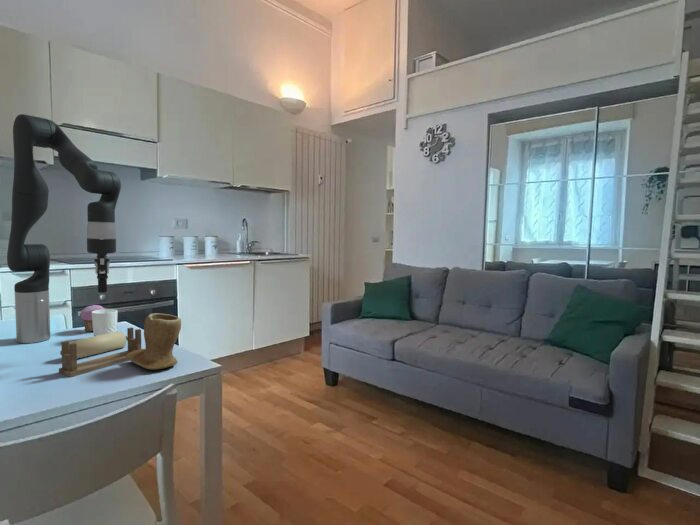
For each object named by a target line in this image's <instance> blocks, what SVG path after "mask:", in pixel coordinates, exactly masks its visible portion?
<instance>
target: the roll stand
mask: <svg viewBox="0 0 700 525" xmlns="http://www.w3.org/2000/svg"><path fill="white" fill-rule="evenodd" d="M126 330H127V331H126V333H127V335H126V336H127V337H128V340H127V350H124V351H121V352H120V351H119V352H116V353H114V354H109V355H105V356H102V357H99V358H94V359H89V360H87V361H82V362H79V363H78V359H77V348H76V344H75V343H72V344H69V342H70V341H67V340H63V341H61V344H60V346H61V347H60V348H61V350H62V356H61V367H60V368H59V367H58V373H59V374H61V375H64V376H68V377H69V378H72V377H76V376H79V375H84V374H87V373H91V372H93V371H97V370H101V369H104V368H107V367H112V366H115V365H118V364H122V363H125V362H129V361H130V360H128V359H127V358H126V355H127V354H128V353H130V352H132V351H135V350H139V349H142V329H140V328H139V329H134V327H127V329H126Z"/></svg>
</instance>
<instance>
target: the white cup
mask: <svg viewBox="0 0 700 525" xmlns="http://www.w3.org/2000/svg"><path fill="white" fill-rule="evenodd" d="M118 313H119V312H118V309H115V308H105V309H102V310H96V311H92V324H93V332H92V333H93V337H94V336H99V335H104V334H108V333H113V332H118V331H117V329H118V315H119V314H118Z"/></svg>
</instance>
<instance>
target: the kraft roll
mask: <svg viewBox="0 0 700 525" xmlns="http://www.w3.org/2000/svg"><path fill="white" fill-rule="evenodd" d="M68 342H69V344H72V343H75V344H76V348H77V360H79V358H80V359H82V358H83V357H84V358H87V356H88V357H92V356H94V355H98V354H103V353H106V352H110V351H115V350H119V349H123V348H125V347H126V345H127V342H128V336H127V335H126V334H125V333H124V332H123V331H122V330H120V331H119V330H118V331H116V332H113V333H108V334H104V335H99V336H94V335H93V336H91V337H86V338H81V339H77V340H76V339H75V340H70V341H68ZM59 352H60V353H59V354H60V356H61V357H62V349H61V350H60V351H59Z"/></svg>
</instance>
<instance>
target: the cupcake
mask: <svg viewBox="0 0 700 525" xmlns="http://www.w3.org/2000/svg"><path fill="white" fill-rule="evenodd" d="M102 309H106V308H105V307H103V306H102V305H99V304H92V305H89V306H86V307H84V308H83V309H82V310H81V311H80V313H79V318H80V319H81V320H83V323H84V330H85V331H86V332H88V331H93V324H92V311H96V310H102Z"/></svg>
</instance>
